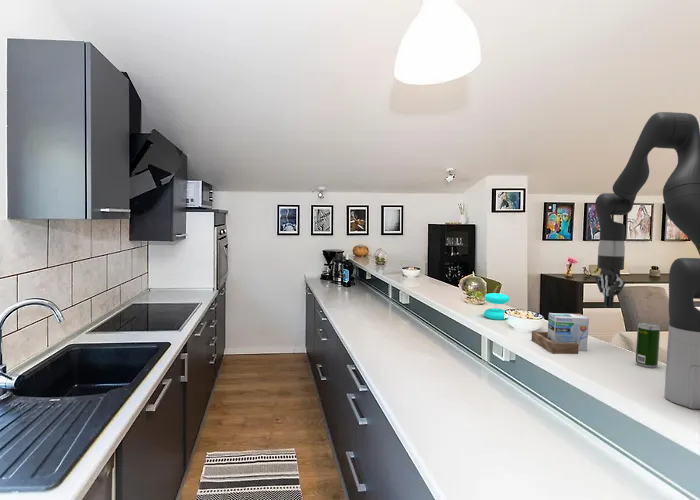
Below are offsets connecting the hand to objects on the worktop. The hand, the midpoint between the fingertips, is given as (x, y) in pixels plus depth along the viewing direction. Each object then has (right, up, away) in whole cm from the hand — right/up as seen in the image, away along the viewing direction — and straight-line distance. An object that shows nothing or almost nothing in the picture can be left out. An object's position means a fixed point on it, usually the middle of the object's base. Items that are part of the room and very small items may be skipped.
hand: (608, 307), depth 146 cm
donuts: (-23, -10, +44) cm, 50 cm away
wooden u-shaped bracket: (-18, -13, +1) cm, 22 cm away
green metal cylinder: (+1, -15, -17) cm, 23 cm away
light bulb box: (-14, -14, 0) cm, 19 cm away
